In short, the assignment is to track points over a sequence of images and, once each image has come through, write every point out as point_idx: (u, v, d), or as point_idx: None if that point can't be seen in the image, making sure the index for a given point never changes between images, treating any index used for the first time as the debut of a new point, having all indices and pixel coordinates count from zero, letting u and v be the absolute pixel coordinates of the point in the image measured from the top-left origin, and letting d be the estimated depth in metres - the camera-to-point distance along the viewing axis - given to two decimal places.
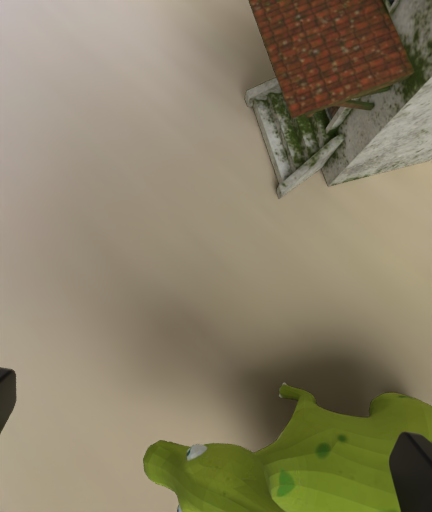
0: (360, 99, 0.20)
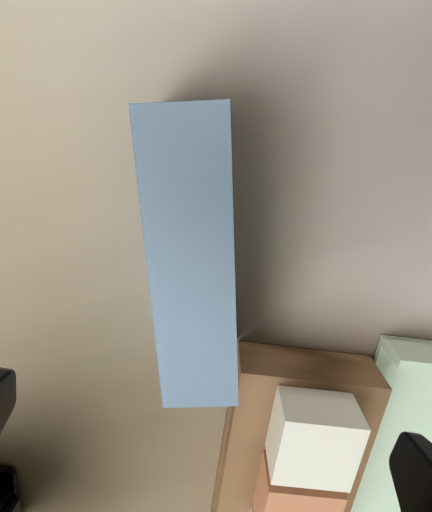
0: None
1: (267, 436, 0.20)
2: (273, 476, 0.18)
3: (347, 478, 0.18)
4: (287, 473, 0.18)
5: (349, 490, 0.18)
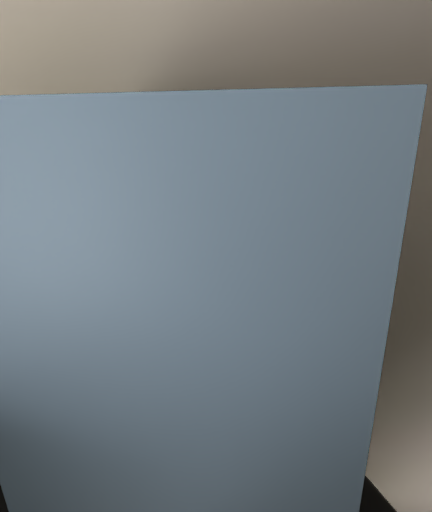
0: None
1: None
2: None
3: None
4: None
5: None
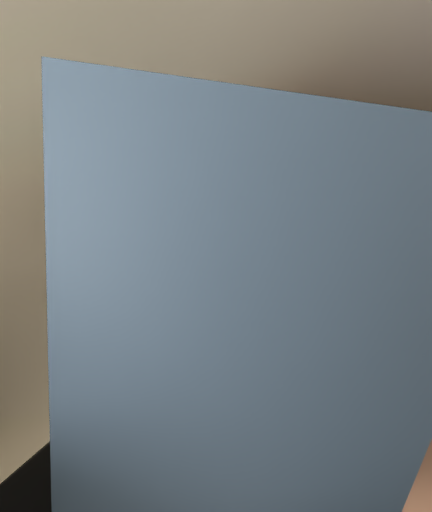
0: None
1: None
2: None
3: None
4: None
5: None
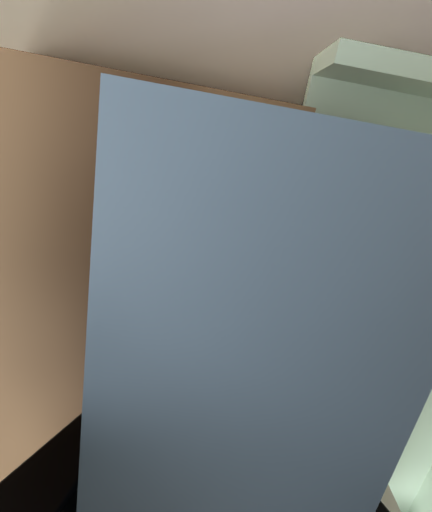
0: None
1: None
2: None
3: None
4: None
5: None
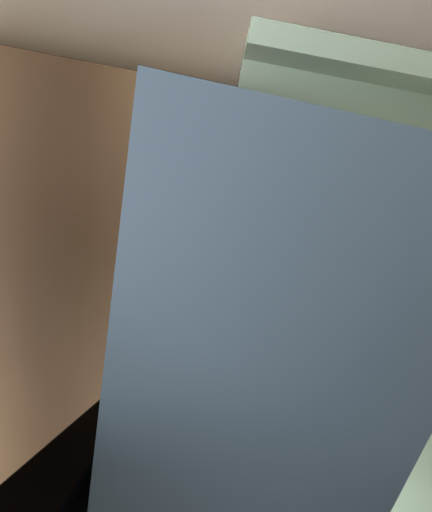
0: None
1: None
2: None
3: None
4: None
5: None
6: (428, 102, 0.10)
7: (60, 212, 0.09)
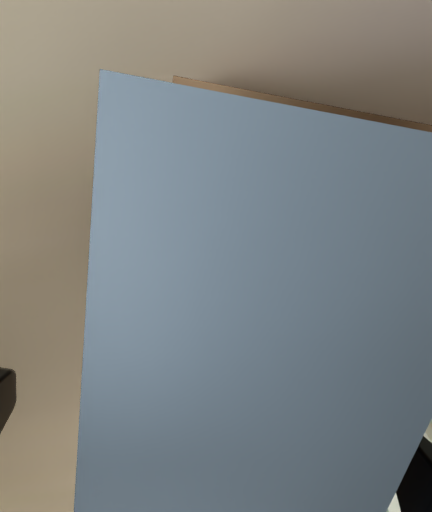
0: None
1: None
2: None
3: None
4: None
5: None
6: None
7: None
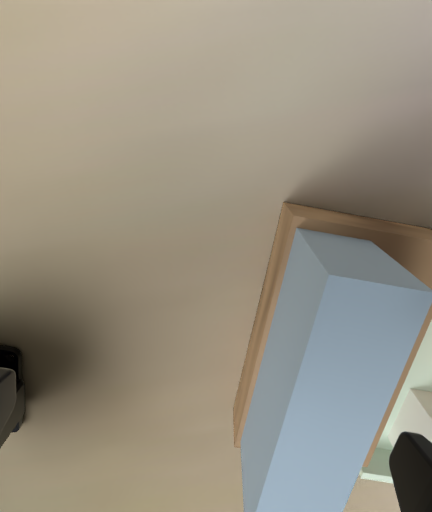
0: None
1: None
2: None
3: None
4: None
5: None
6: None
7: None
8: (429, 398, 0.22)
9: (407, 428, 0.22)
